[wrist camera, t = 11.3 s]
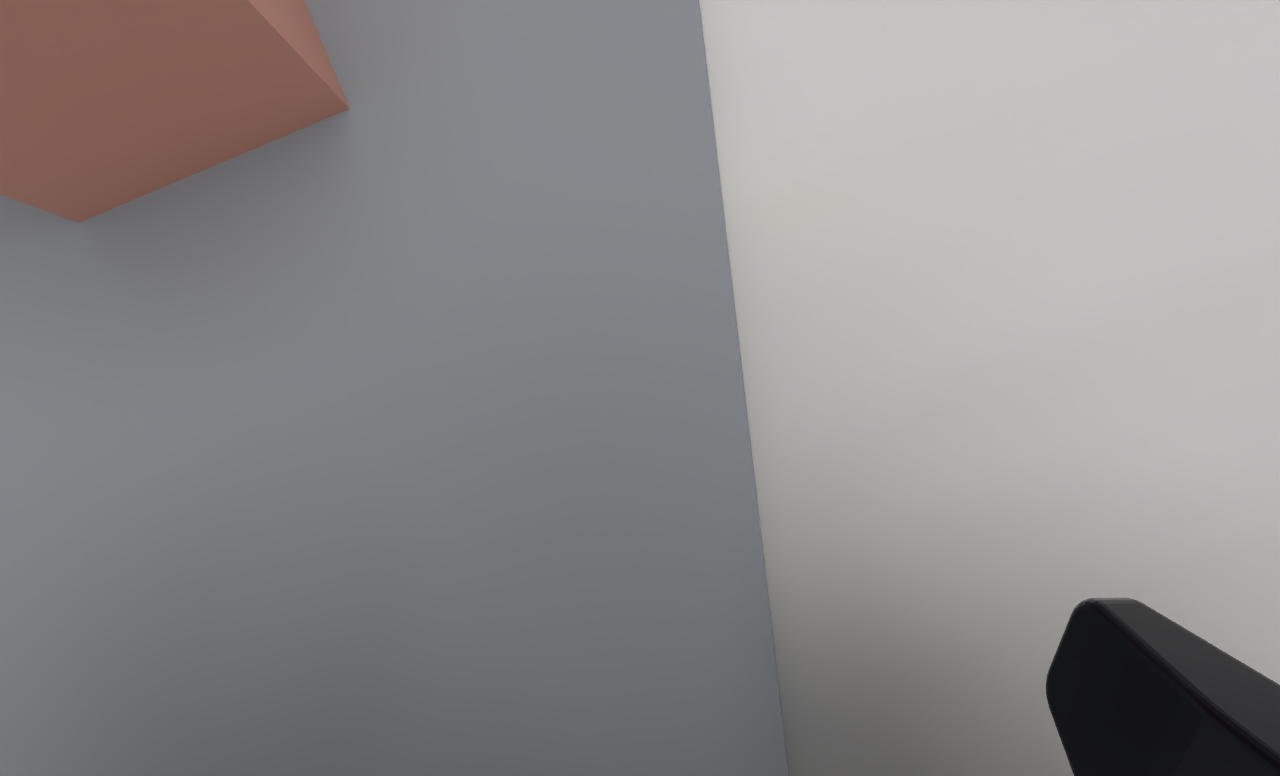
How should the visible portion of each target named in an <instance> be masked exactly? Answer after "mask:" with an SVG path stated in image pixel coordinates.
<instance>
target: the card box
mask: <svg viewBox="0 0 1280 776" xmlns="http://www.w3.org/2000/svg"><path fill="white" fill-rule="evenodd" d="M348 109H350V108H349V106H348V103H347V101H346V98H345V96H344V94H343V91H342V89H341V86H340V84H339V82H338V79H337V77H336V74H335V72H334V70H333V67H332V65H331V62H330V60H329V58H328V55H327V53H326V50H325V48H324V46H323V43H322V41H321V38H320V36H319V34H318V31H317V29H316V26H315V24H314V22H313V19H312V17H311V15H310V12H309V10H308V7H307V5H306V3H305V0H0V195H3V196H5V197H8V198H11V199H14V200H16V201H19V202H22V203H25V204H28V205H30V206H33V207H36V208H39V209H41V210H44V211H47V212H50V213H53V214H55V215H58V216H61V217H64V218H66V219H69V220H72V221H75V222H77V223H79V222H82V221H84V220H87V219H89V218H91V217H94V216H96V215H98V214H101V213H103V212H106V211H108V210H110V209H113V208H115V207H117V206H120V205H122V204H125V203H127V202H129V201H132V200H134V199H136V198H139V197H141V196H144V195H146V194H148V193H151V192H153V191H155V190H158V189H160V188H163V187H165V186H167V185H170V184H172V183H174V182H177V181H179V180H182V179H184V178H186V177H189V176H191V175H193V174H196V173H198V172H201V171H203V170H205V169H208V168H210V167H212V166H215V165H217V164H220V163H222V162H224V161H227V160H229V159H231V158H234V157H236V156H239V155H241V154H243V153H246V152H248V151H250V150H253V149H255V148H258V147H260V146H262V145H265V144H267V143H269V142H272V141H274V140H277V139H279V138H281V137H284V136H286V135H288V134H291V133H293V132H296V131H298V130H300V129H303V128H305V127H307V126H310V125H312V124H315V123H317V122H319V121H322V120H324V119H326V118H329V117H331V116H334V115H336V114H338V113H341V112H343V111H345V110H348Z"/></svg>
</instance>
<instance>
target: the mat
mask: <svg viewBox="0 0 1280 776" xmlns="http://www.w3.org/2000/svg"><path fill="white" fill-rule="evenodd" d="M305 3H306V5H307V7H308V10H309V12H310V15H311V17H312V19H313V22H314V24H315V26H316V29H317V31H318V34H319V36H320V38H321V41H322V43H323V46H324V48H325V50H326V53H327V55H328V58H329V60H330V62H331V65H332V67H333V70H334V72H335V74H336V77H337V79H338V82H339V84H340V86H341V89H342V91H343V94H344V96H345V98H346V101H347V103H348V106H349V108H350V109H348V110H345V111H343V112H341V113H338V114H336V115H334V116H331V117H329V118H326V119H324V120H322V121H319V122H317V123H315V124H312V125H310V126H307V127H305V128H303V129H300V130H298V131H296V132H293V133H291V134H288V135H286V136H284V137H281V138H279V139H277V140H274V141H272V142H269V143H267V144H265V145H262V146H260V147H258V148H255V149H253V150H250V151H248V152H246V153H243V154H241V155H239V156H236V157H234V158H231V159H229V160H227V161H224V162H222V163H220V164H217V165H215V166H212V167H210V168H208V169H205V170H203V171H201V172H198V173H196V174H193V175H191V176H189V177H186V178H184V179H182V180H179V181H177V182H174V183H172V184H170V185H167V186H165V187H163V188H160V189H158V190H155V191H153V192H151V193H148V194H146V195H144V196H141V197H139V198H136V199H134V200H132V201H129V202H127V203H125V204H122V205H120V206H117V207H115V208H113V209H110V210H108V211H106V212H103V213H101V214H98V215H96V216H94V217H91V218H89V219H87V220H84V221H82V222H79V223H77V222H75V221H72V220H69V219H66V218H64V217H61V216H58V215H55V214H53V213H50V212H47V211H44V210H41V209H39V208H36V207H33V206H30V205H28V204H25V203H22V202H19V201H16V200H14V199H11V198H8V197H5V196H3V195H0V776H789V773H788V764H787V755H786V747H785V738H784V729H783V721H782V712H781V703H780V695H779V686H778V678H777V669H776V660H775V652H774V643H773V634H772V626H771V617H770V608H769V600H768V591H767V583H766V574H765V565H764V557H763V548H762V539H761V531H760V522H759V513H758V505H757V496H756V488H755V479H754V470H753V462H752V453H751V444H750V436H749V427H748V418H747V410H746V401H745V393H744V384H743V375H742V367H741V358H740V349H739V341H738V332H737V323H736V315H735V306H734V298H733V289H732V280H731V272H730V263H729V254H728V246H727V237H726V228H725V220H724V211H723V203H722V194H721V185H720V177H719V168H718V159H717V151H716V142H715V133H714V125H713V116H712V108H711V99H710V90H709V82H708V73H707V64H706V56H705V47H704V38H703V30H702V21H701V13H700V4H699V0H305Z"/></svg>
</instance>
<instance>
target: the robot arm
mask: <svg viewBox="0 0 1280 776" xmlns="http://www.w3.org/2000/svg"><path fill="white" fill-rule="evenodd" d="M1046 694H1047V700H1048V704H1049V708H1050V711H1051V714H1052V716H1053V719H1054V722H1055V725H1056V727H1057V730H1058V733H1059V736H1060V738H1061V741H1062V744H1063V747H1064V749H1065V752H1066V755H1067V758H1068V760H1069V763H1070V766H1071V768H1072V771H1073V774H1074V776H1280V685H1279V684H1277V683H1275V682H1274V681H1272V680H1270V679H1269V678H1267V677H1265V676H1264V675H1262V674H1260V673H1259V672H1257V671H1255V670H1254V669H1252V668H1250V667H1249V666H1247V665H1245V664H1244V663H1242V662H1240V661H1239V660H1237V659H1235V658H1233V657H1232V656H1230V655H1228V654H1227V653H1225V652H1223V651H1222V650H1220V649H1218V648H1217V647H1215V646H1213V645H1212V644H1210V643H1208V642H1207V641H1205V640H1203V639H1202V638H1200V637H1198V636H1197V635H1195V634H1193V633H1192V632H1190V631H1188V630H1186V629H1185V628H1183V627H1181V626H1180V625H1178V624H1176V623H1175V622H1173V621H1171V620H1170V619H1168V618H1166V617H1165V616H1163V615H1161V614H1160V613H1158V612H1156V611H1155V610H1153V609H1151V608H1150V607H1148V606H1146V605H1145V604H1143V603H1141V602H1139V601H1137V600H1134V599H1130V598H1091V599H1087V600H1084V601H1082V602H1081V603H1080V604H1078V605H1077V606H1076V607H1075V608H1074V610H1073V612H1072V614H1071V616H1070V619H1069V621H1068V624H1067V626H1066V629H1065V631H1064V634H1063V636H1062V639H1061V641H1060V644H1059V646H1058V649H1057V651H1056V653H1055V656H1054V658H1053V661H1052V663H1051V666H1050V668H1049V671H1048V674H1047V681H1046Z"/></svg>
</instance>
